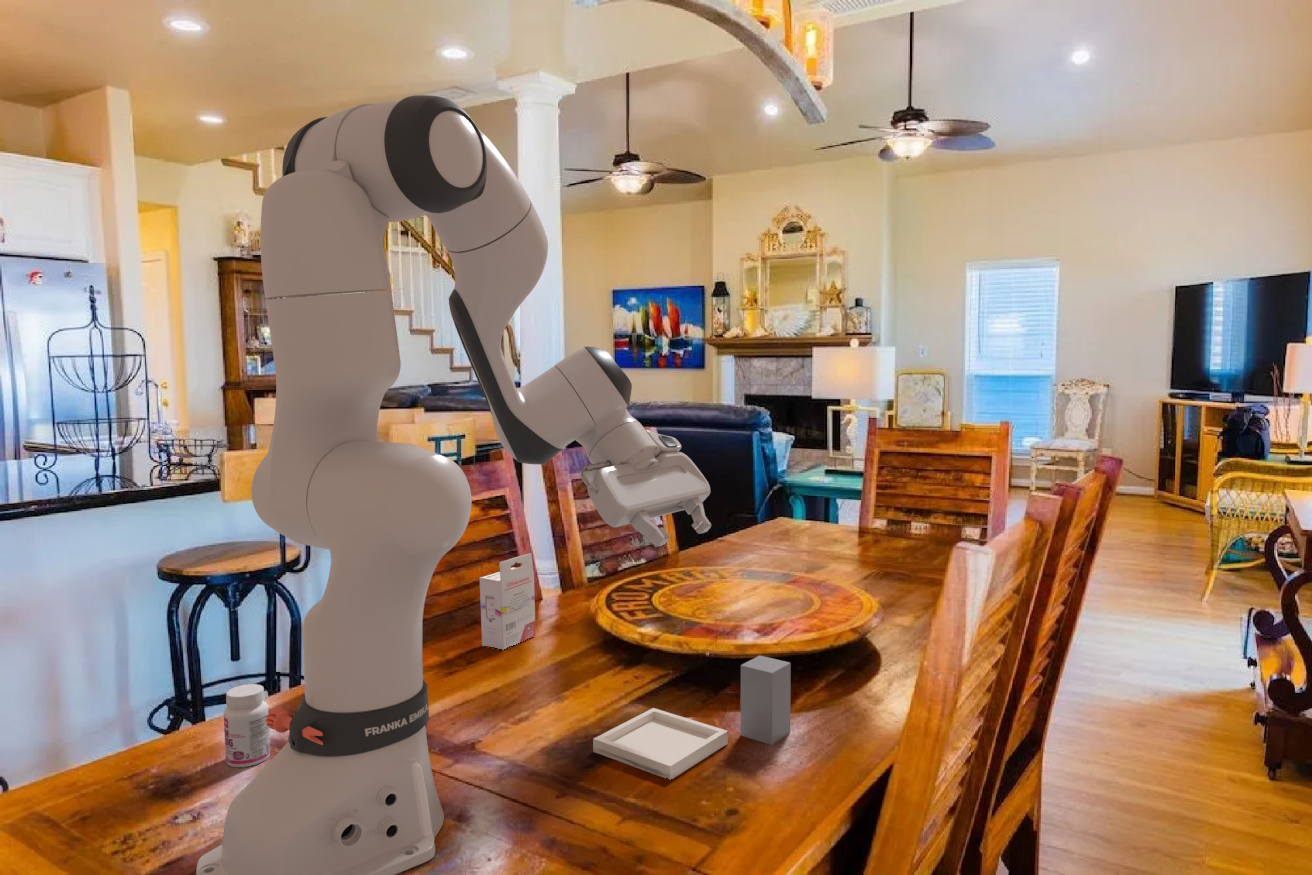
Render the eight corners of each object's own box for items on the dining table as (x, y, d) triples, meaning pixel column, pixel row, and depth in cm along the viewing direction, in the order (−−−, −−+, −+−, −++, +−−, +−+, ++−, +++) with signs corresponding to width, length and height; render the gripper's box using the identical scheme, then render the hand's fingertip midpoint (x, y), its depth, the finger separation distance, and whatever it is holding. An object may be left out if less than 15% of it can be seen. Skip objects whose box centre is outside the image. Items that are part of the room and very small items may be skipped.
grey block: (771, 745, 103) (772, 673, 102) (740, 735, 106) (740, 665, 105) (790, 732, 106) (790, 662, 106) (759, 723, 109) (759, 655, 108)
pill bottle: (216, 764, 99) (212, 693, 98) (250, 747, 103) (247, 680, 103) (245, 771, 97) (242, 700, 96) (279, 754, 101) (276, 685, 101)
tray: (670, 780, 94) (670, 766, 94) (593, 751, 101) (593, 738, 101) (727, 743, 103) (727, 730, 103) (653, 719, 110) (653, 707, 110)
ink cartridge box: (514, 632, 148) (512, 549, 146) (536, 637, 145) (534, 552, 144) (480, 646, 140) (477, 559, 139) (502, 651, 138) (500, 562, 136)
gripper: (587, 450, 107) (648, 535, 102) (683, 437, 123) (740, 510, 118) (563, 482, 110) (621, 566, 105) (659, 465, 126) (714, 537, 121)
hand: (685, 536), depth 112 cm, fingers open, 8 cm apart
